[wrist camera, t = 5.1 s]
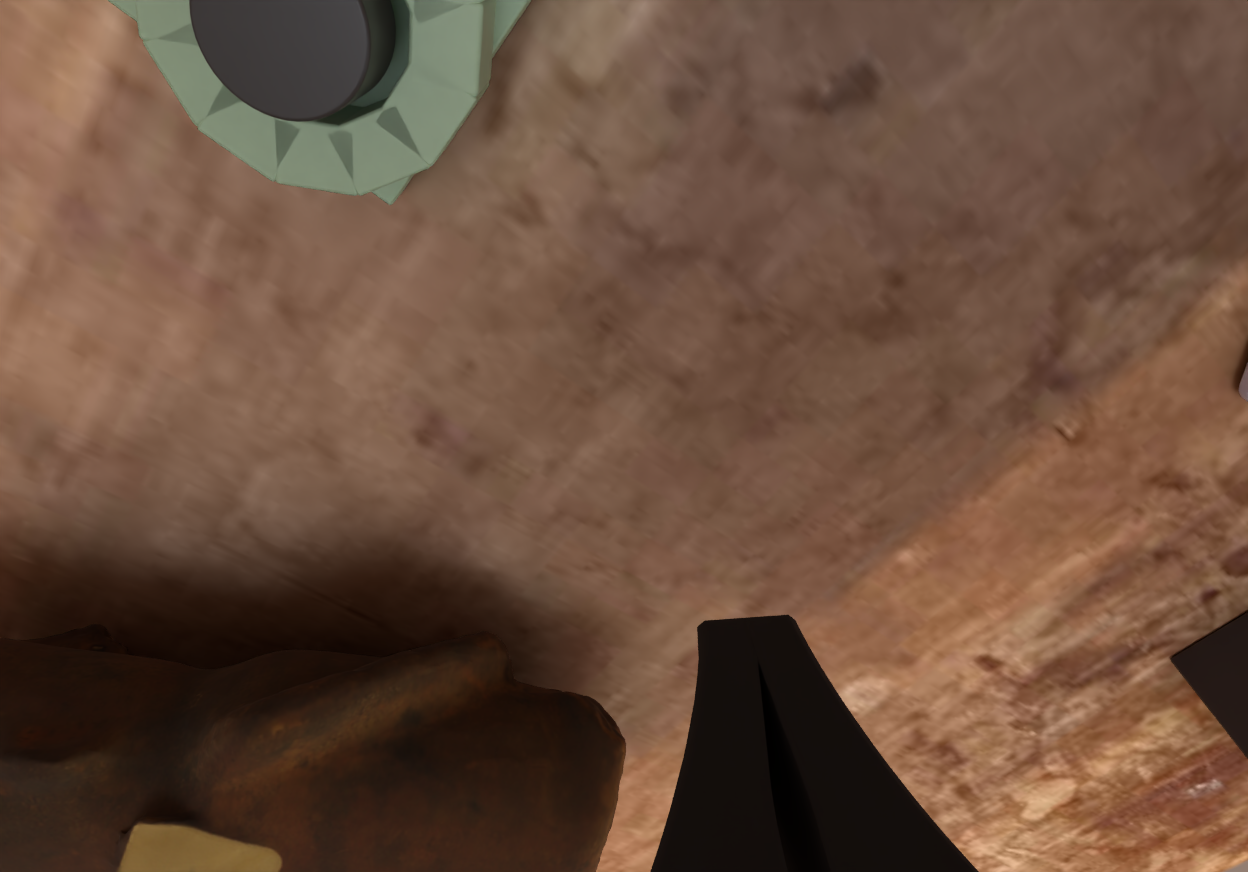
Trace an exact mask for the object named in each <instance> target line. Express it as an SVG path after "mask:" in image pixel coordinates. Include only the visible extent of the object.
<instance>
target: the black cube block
mask: <svg viewBox="0 0 1248 872" xmlns="http://www.w3.org/2000/svg"><path fill="white" fill-rule="evenodd" d="M1171 662H1172V663H1173V664H1174V665H1175V667H1176V668H1177V669H1178V671H1179V672H1180V673H1181V674H1182V676H1183V677H1184V678H1185V679H1186V681H1187V682H1188V683H1189V685H1190V686H1191V687H1192V688H1193V690H1194V691H1195V692H1196V693H1197V695H1198V696H1199V697H1200V699H1201V700H1202V701H1203V702H1204V704H1205V705H1206V706H1207V708H1208V709H1209V710H1210V711H1211V713H1212V714H1213V715H1214V716H1215V718H1216V719H1217V720H1218V722H1219V723H1220V724H1221V725H1222V727H1223V728H1224V729H1225V730H1226V732H1227V733H1228V734H1229V736H1230V737H1231V738H1232V739H1233V741H1234V742H1235V743H1236V745H1237V746H1238V747H1239V748H1240V750H1241V751H1242V752H1243V753H1244V755H1245V756H1246V757H1247V759H1248V612H1247V613H1246V614H1244V615H1242V616H1241V617H1239V618H1237V619H1236V620H1234V621H1232V622H1231V623H1229V624H1227V625H1226V626H1224V627H1222V628H1221V629H1219V630H1217V631H1216V632H1214V633H1212V634H1211V635H1209V636H1207V637H1206V638H1204V639H1202V640H1201V641H1199V642H1197V643H1196V644H1194V645H1192V646H1191V647H1189V648H1187V649H1186V650H1184V651H1182V652H1181V653H1179V654H1177V655H1176V656H1174V657H1172V658H1171Z"/></svg>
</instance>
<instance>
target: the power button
mask: <svg viewBox="0 0 1248 872" xmlns="http://www.w3.org/2000/svg"><path fill="white" fill-rule="evenodd" d="M189 6H190V17H191V23H192V27H193V31H194V35H195V38H196V41H197V43H198V46H199V48H200V50H201V52H202V54H203V56H204V58H205V60H206V62H207V63H208V65H209V66H210V68H211V69H212V71H213V72H214V74H215V75H216V76H217V78H218V79H219V80H220V81H221V82H222V84H223V85H224V86H225V87H226V88H227V89H228V90H229V91H230V92H231V93H233V94H234V95H235V96H236V97H237V98H239V99H240V100H241V101H242V102H244V103H246V104H247V105H249V106H250V107H252V108H253V109H255V110H257V111H259V112H261V113H263V114H266V115H268V116H271V117H274V118H277V119H282V120H286V121H295V122H307V121H314V120H319V119H322V118H325V117H328V116H330V115H332V114H334V113H336V112H338V111H340V110H341V109H343V108H344V107H346V106H347V105H349V104H351V103H352V102H354V101H355V100H357V99H358V98H360V97H362V96H363V95H365V94H366V93H367V92H369V91H370V90H371V89H373V88H374V87H375V86H376V85H377V84H378V83H379V82H380V80H381V79H382V77H383V76H384V75H385V73H386V71H387V69H388V67H389V65H390V62H391V59H392V57H393V53H394V48H395V39H396V25H395V17H394V11H393V7H392V4H391V0H189Z"/></svg>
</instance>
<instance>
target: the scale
mask: <svg viewBox="0 0 1248 872" xmlns="http://www.w3.org/2000/svg"><path fill="white" fill-rule="evenodd" d="M108 1H109V2H111V3H112V4H113V5H115V6H116V7H117V8H119V9H120V10H122V11H123V12H124V13H126V14H127V15H128V16H130V17H131V18H133V19H134V20H135V21H137V23H138V31H139V36H140V38H141V39H143V43H144V46H145V47H146V49H147V50H148V52H149V54H150V55H151V57H152V58H153V60H154V62H155V63H156V65H157V66H158V68H159V69H160V71H161V73H162V74H163V76H164V77H165V79H166V81H167V82H168V84H169V85H170V87H171V89H172V90H173V92H174V93H175V95H176V97H177V98H178V100H179V101H180V103H181V104H182V106H183V108H184V109H185V111H186V112H187V114H188V116H189V117H190V119H191V120H192V122H193V123H194V124H195V125H196V126H198V128H197V129H198V130H199V131H200V132H202V133H203V134H205V135H206V136H208V137H209V138H211V139H212V140H213V141H215V142H216V143H218V144H219V145H221V146H222V147H223V148H225V149H226V150H228V151H229V152H231V153H232V154H233V155H235V156H236V157H238V158H239V159H241V160H242V161H244V162H245V163H246V164H248V165H249V166H251V167H252V168H254V169H255V170H256V171H258V172H259V173H261V174H262V175H264V176H265V177H267V178H268V179H269V180H271V181H274V182H275V181H276V182H277V183H279V184H284V185H290V186H297V187H303V188H309V189H315V190H322V191H328V192H334V193H340V194H347V195H353V196H355V195H364V194H367V193H369V192H372V193H374V194H375V195H376V196H378V197H379V198H380V199H382V200H383V201H385V202H386V203H387V204H389V205H392V204H393V203H394V202H395V201H396V199H397V198H398V197H399V196H400V194H401V193H402V192H403V191H404V189H405V188H406V186H407V185H408V183H409V182H410V180H411V179H412V177H413V176H414V174H416V173H419V172H421V171H424V170H426V169H428V168H429V167H430V166H432V165H434V163H435V162H436V161H437V159H438V158H439V157H440V155H441V154H442V153H443V152H444V150H445V149H446V148H447V146H448V145H449V144H450V142H451V141H452V139H453V138H454V136H455V135H456V133H457V132H458V131H459V129H460V128H461V126H462V125H463V123H464V122H465V120H466V119H467V117H468V116H469V114H470V113H471V111H472V110H473V109H474V107H475V106H476V104H477V103H478V101H479V100H480V98H481V97H482V95H483V94H484V92H485V91H486V89H487V88H488V87H489V81H490V79H491V67H492V58H493V57H494V55H495V54H496V53H497V51H498V50H499V48H500V47H501V45H502V44H503V42H504V41H505V39H506V38H507V36H508V35H509V33H510V32H511V30H512V29H513V27H514V26H515V24H516V23H517V21H518V20H519V18H520V17H521V15H522V14H523V12H524V11H525V9H526V8H527V6H528V5H529V3H530V2H531V0H391V4H392V7H393V11H394V17H395V25H396V39H395V48H394V53H393V57H392V59H391V62H390V65H389V67H388V69H387V71H386V73H385V75H384V76H383V77H382V79H381V80H380V82H379V83H378V84H377V85H376V86H375V87H374V88H373V89H371V90H370V91H369V92H367V93H366V94H365V95H363V96H362V97H360V98H358V99H357V100H355V101H354V102H352V103H351V104H349V105H347V106H346V107H344V108H343V109H341V110H340V111H338V112H336V113H334V114H332V115H330V116H328V117H325V118H322V119H319V120H314V121H307V122H295V121H286V120H282V119H277V118H274V117H271V116H268V115H266V114H263V113H261V112H259V111H257V110H255V109H253V108H252V107H250V106H249V105H247V104H246V103H244V102H242V101H241V100H240V99H239V98H237V97H236V96H235V95H234V94H233V93H231V92H230V91H229V90H228V89H227V88H226V87H225V86H224V85H223V84H222V82H221V81H220V80H219V79H218V78H217V76H216V75H215V74H214V72H213V71H212V69H211V68H210V66H209V65H208V63H207V62H206V60H205V58H204V56H203V54H202V52H201V50H200V48H199V46H198V43H197V41H196V38H195V35H194V31H193V27H192V23H191V17H190V6H189V0H108Z"/></svg>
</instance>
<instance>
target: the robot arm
mask: <svg viewBox="0 0 1248 872" xmlns="http://www.w3.org/2000/svg"><path fill="white" fill-rule="evenodd" d="M1239 394H1240V396H1241V397H1242V398H1243V399H1245V400H1246V401H1248V363H1247V365H1246V368H1245V371H1244V374H1243V376H1242V379H1241V382H1240V385H1239ZM697 632H698V653H699V662H698V676H697V684H696V692H695V700H694V706H693V712H692V717H691V723H690V728H689V733H688V739H687V744H686V749H685V753H684V758H683V762H682V766H681V770H680V773H679V777H678V781H677V785H676V789H675V793H674V797H673V801H672V805H671V808H670V812H669V815H668V819H667V822H666V825H665V829H664V832H663V835H662V838H661V842H660V845H659V848H658V851H657V854H656V857H655V860H654V863H653V866H652V869H651V872H978V870H977V869H976V868H975V867H974V866H973V865H972V864H971V863H970V862H969V861H968V860H967V858H966V857H965V856H964V855H963V854H962V853H961V852H960V851H959V850H958V848H957V847H956V846H955V845H954V844H953V843H952V842H951V841H950V839H949V838H948V837H947V836H946V835H945V834H944V833H943V832H942V830H941V829H940V828H939V827H938V826H937V825H936V823H935V822H934V821H933V820H932V819H931V818H930V816H929V815H928V814H927V813H926V811H925V810H924V809H923V808H922V807H921V805H920V804H919V803H918V802H917V801H916V799H915V798H914V797H913V796H912V794H911V793H910V792H909V791H908V789H907V788H906V787H905V786H904V784H903V783H902V782H901V780H900V779H899V778H898V777H897V775H896V774H895V773H894V772H893V770H892V769H891V768H890V766H889V765H888V764H887V762H886V761H885V760H884V758H883V757H882V756H881V754H880V753H879V752H878V750H877V749H876V748H875V746H874V745H873V744H872V742H871V741H870V739H869V738H868V737H867V735H866V734H865V732H864V731H863V729H862V728H861V727H860V725H859V724H858V722H857V721H856V720H855V718H854V717H853V715H852V714H851V712H850V711H849V710H848V708H847V707H846V705H845V704H844V702H843V701H842V699H841V698H840V696H839V695H838V693H837V692H836V690H835V688H834V687H833V685H832V684H831V682H830V681H829V679H828V677H827V676H826V674H825V673H824V671H823V669H822V668H821V666H820V664H819V663H818V661H817V659H816V658H815V656H814V654H813V653H812V651H811V649H810V647H809V646H808V644H807V642H806V640H805V638H804V636H803V634H802V633H801V631H800V629H799V627H798V625H797V623H796V620H794V619H793V618H792V617H790V616H789V615H779V616H764V617H750V618H736V619H722V620H708V621H704V622H703V623H701V624H700V625H699V626H698V627H697Z"/></svg>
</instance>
